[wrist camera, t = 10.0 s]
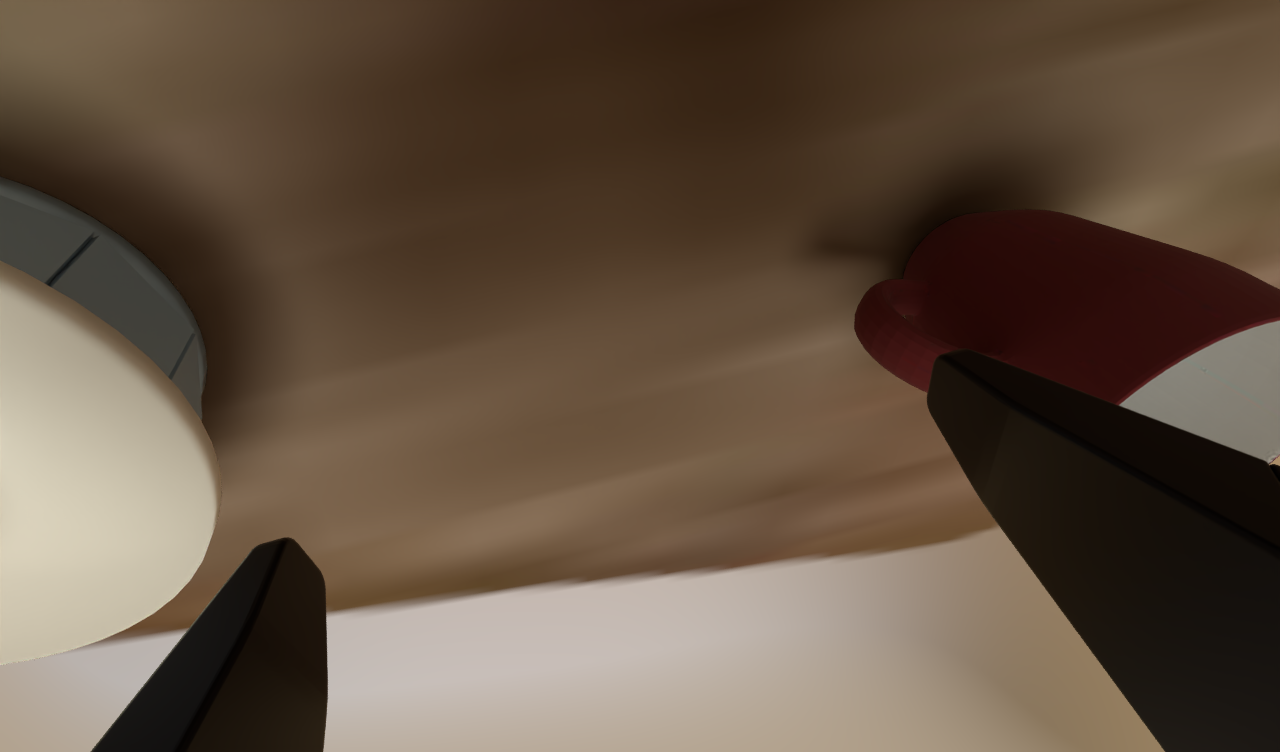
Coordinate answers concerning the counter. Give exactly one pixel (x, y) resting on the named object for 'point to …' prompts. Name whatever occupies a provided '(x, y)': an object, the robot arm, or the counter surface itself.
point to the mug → (1090, 320)
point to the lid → (90, 477)
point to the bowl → (103, 280)
